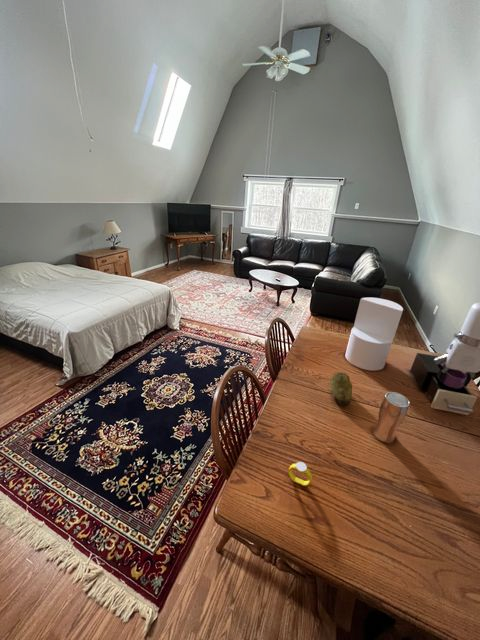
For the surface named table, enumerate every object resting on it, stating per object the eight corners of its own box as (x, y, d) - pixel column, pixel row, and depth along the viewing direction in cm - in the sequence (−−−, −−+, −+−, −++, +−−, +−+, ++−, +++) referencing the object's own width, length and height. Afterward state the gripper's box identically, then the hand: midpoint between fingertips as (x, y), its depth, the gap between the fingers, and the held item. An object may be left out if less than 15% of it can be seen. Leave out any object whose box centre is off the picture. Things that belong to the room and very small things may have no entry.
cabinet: (456, 398, 104) (466, 378, 100) (419, 391, 107) (428, 371, 103) (442, 376, 116) (450, 358, 112) (410, 371, 119) (417, 352, 115)
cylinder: (355, 346, 137) (369, 294, 125) (390, 361, 126) (409, 306, 114) (338, 358, 126) (351, 303, 115) (375, 375, 115) (393, 316, 103)
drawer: (474, 424, 91) (484, 407, 87) (436, 416, 93) (444, 399, 90) (452, 392, 106) (460, 376, 103) (420, 385, 109) (427, 370, 105)
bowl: (457, 379, 100) (462, 369, 98) (465, 391, 94) (471, 380, 92) (436, 376, 102) (441, 366, 100) (443, 387, 96) (448, 376, 94)
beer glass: (391, 448, 82) (407, 411, 75) (368, 435, 86) (381, 398, 79) (398, 435, 86) (413, 399, 80) (375, 423, 90) (388, 388, 84)
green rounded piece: (325, 402, 98) (329, 385, 95) (330, 383, 109) (334, 367, 106) (348, 410, 95) (353, 393, 92) (351, 389, 106) (356, 373, 102)
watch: (311, 482, 71) (314, 467, 68) (308, 491, 68) (312, 476, 66) (289, 471, 73) (292, 457, 71) (286, 480, 71) (288, 465, 68)
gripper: (447, 340, 89) (428, 383, 96) (509, 349, 85) (484, 393, 92) (438, 330, 95) (421, 371, 103) (496, 338, 91) (474, 380, 99)
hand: (451, 381), depth 98 cm, fingers closed on bowl, 6 cm apart
